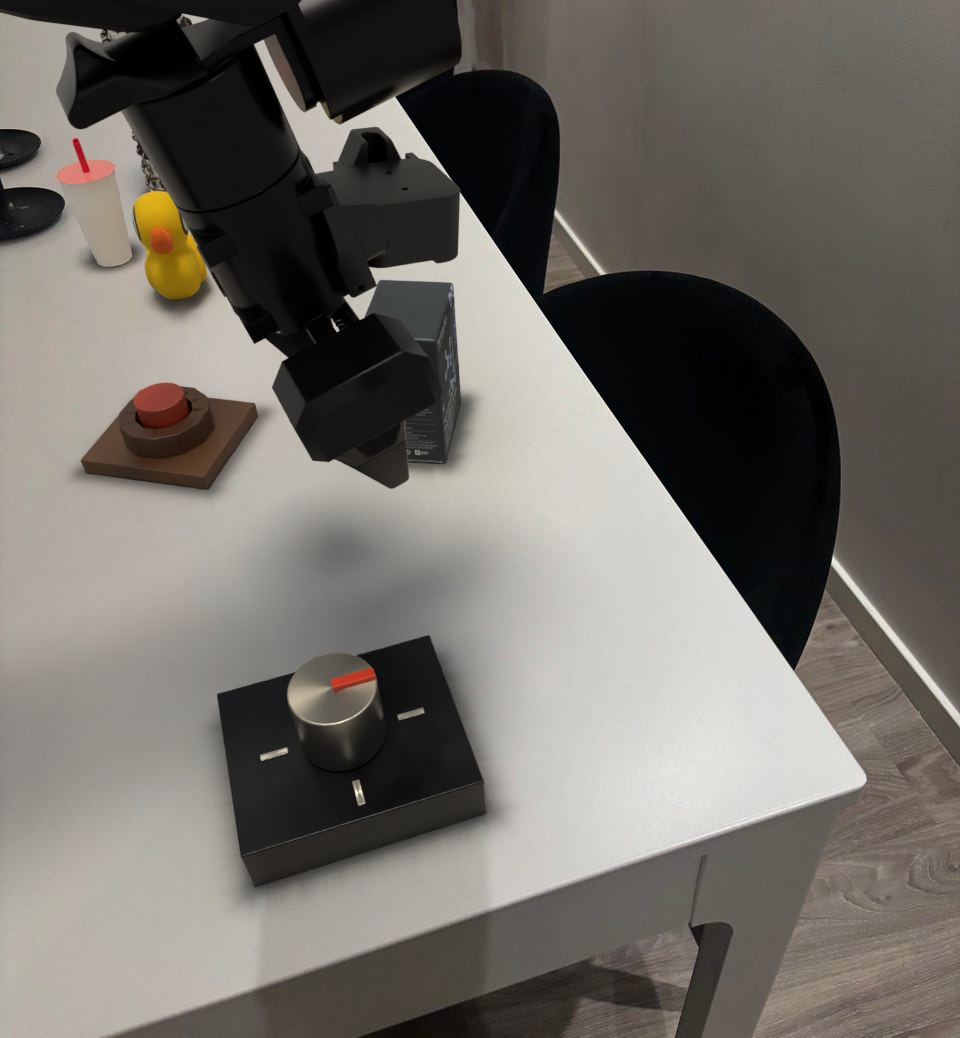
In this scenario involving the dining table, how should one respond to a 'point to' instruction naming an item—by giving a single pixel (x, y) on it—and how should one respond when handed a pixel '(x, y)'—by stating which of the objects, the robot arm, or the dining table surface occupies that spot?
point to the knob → (337, 711)
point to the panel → (353, 793)
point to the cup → (97, 207)
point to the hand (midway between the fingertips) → (367, 432)
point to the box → (435, 331)
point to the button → (161, 405)
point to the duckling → (167, 247)
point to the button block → (173, 443)
